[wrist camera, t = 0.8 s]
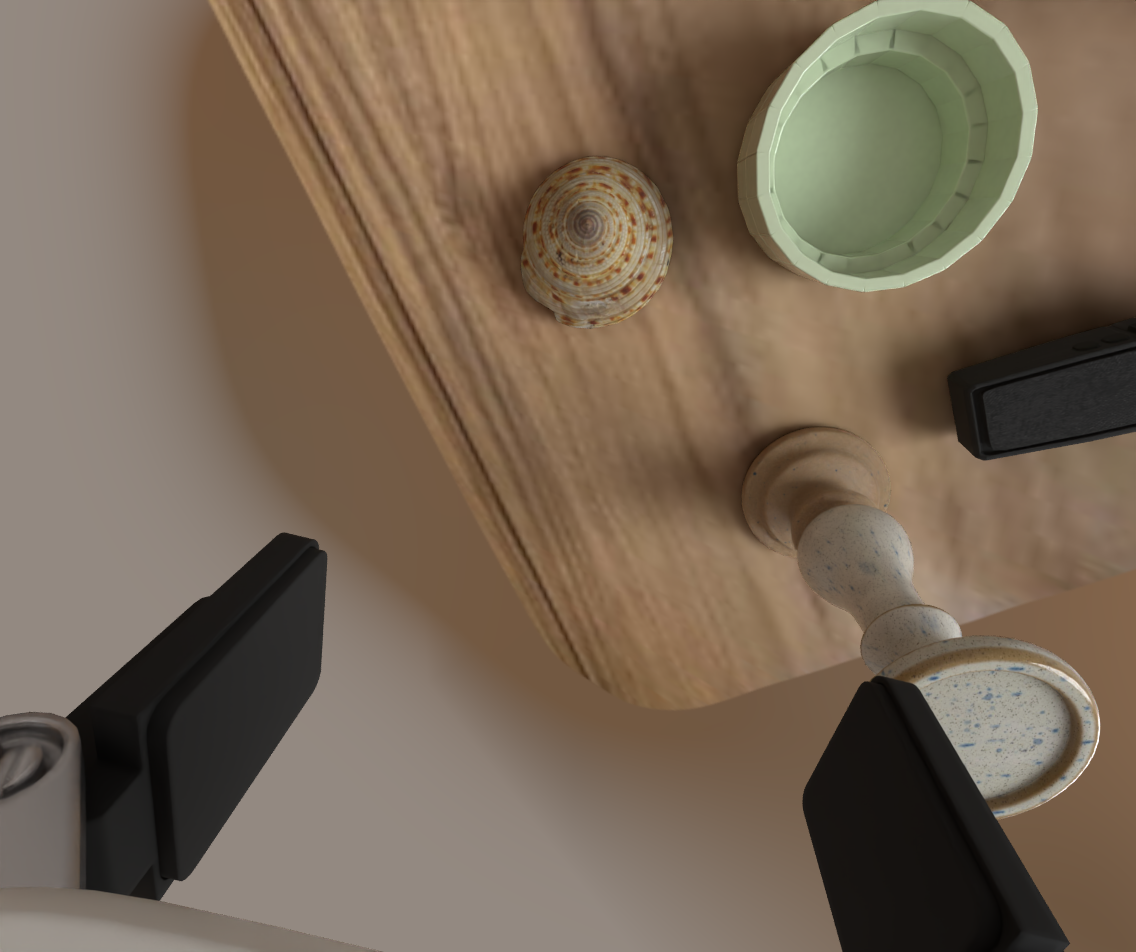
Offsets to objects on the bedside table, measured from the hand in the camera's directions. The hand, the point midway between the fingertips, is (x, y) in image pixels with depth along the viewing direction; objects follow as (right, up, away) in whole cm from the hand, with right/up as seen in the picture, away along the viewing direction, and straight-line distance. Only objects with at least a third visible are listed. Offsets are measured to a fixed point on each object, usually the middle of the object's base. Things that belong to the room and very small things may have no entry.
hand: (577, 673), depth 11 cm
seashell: (+2, +16, +24) cm, 29 cm away
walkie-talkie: (+31, +11, +23) cm, 40 cm away
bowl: (+14, +19, +21) cm, 32 cm away
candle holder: (+15, +3, +28) cm, 32 cm away
